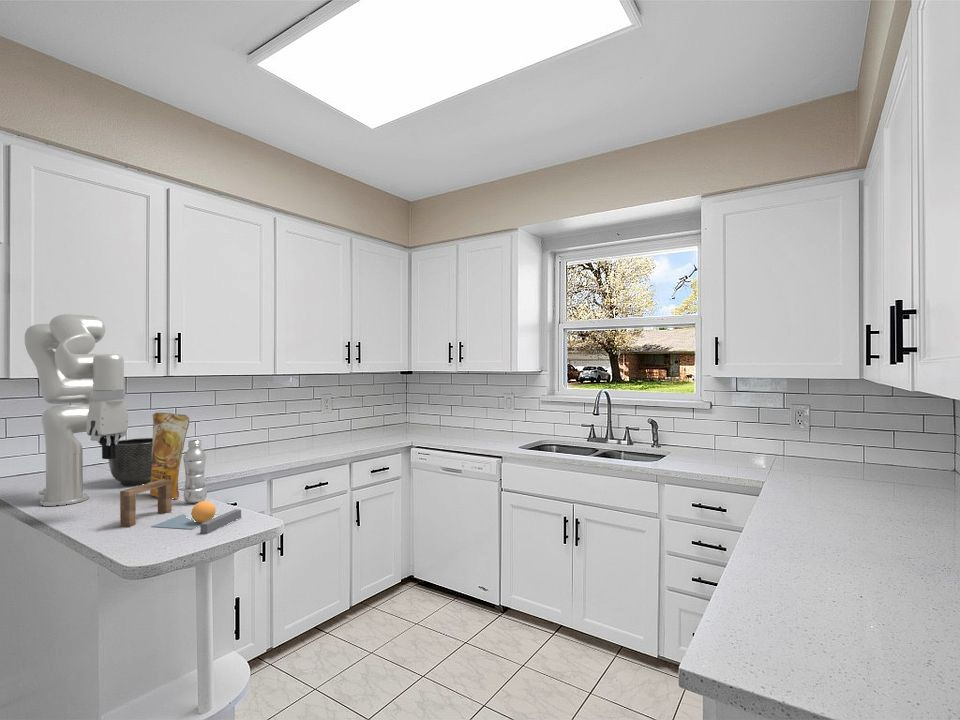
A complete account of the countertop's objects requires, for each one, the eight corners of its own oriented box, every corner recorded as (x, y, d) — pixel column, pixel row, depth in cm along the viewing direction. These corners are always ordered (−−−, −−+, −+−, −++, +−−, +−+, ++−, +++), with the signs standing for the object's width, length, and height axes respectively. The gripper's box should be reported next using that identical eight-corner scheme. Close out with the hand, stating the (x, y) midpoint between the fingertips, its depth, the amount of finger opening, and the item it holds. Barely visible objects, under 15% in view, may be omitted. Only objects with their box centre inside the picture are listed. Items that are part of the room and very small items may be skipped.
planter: (137, 490, 188) (137, 445, 188) (96, 488, 191) (95, 444, 191) (173, 479, 205) (173, 438, 205) (135, 478, 208) (134, 437, 208)
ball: (199, 529, 145) (183, 518, 146) (214, 523, 151) (198, 512, 152) (208, 511, 145) (191, 499, 146) (223, 505, 151) (207, 494, 152)
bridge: (120, 526, 146) (120, 491, 146) (163, 511, 160) (162, 479, 160) (129, 526, 145) (129, 491, 145) (171, 511, 160) (171, 479, 160)
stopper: (200, 533, 139) (200, 523, 139) (235, 517, 153) (235, 509, 153) (207, 533, 139) (207, 524, 139) (241, 518, 152) (241, 509, 152)
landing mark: (151, 527, 145) (151, 526, 145) (186, 513, 158) (186, 512, 158) (192, 529, 142) (192, 528, 142) (224, 515, 155) (224, 515, 155)
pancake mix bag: (163, 490, 187) (162, 411, 187) (192, 497, 177) (191, 414, 177) (142, 494, 182) (142, 413, 182) (171, 502, 171) (170, 415, 171)
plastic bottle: (211, 500, 172) (211, 439, 172) (194, 506, 166) (193, 442, 166) (196, 499, 174) (195, 438, 174) (178, 504, 168) (178, 441, 168)
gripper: (119, 394, 163) (120, 453, 163) (73, 398, 149) (74, 463, 149) (140, 394, 162) (140, 454, 162) (96, 398, 147) (96, 463, 147)
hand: (109, 458), depth 155 cm, fingers closed
